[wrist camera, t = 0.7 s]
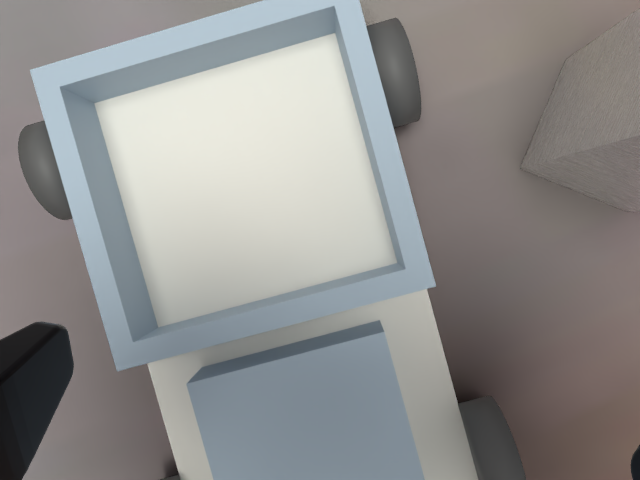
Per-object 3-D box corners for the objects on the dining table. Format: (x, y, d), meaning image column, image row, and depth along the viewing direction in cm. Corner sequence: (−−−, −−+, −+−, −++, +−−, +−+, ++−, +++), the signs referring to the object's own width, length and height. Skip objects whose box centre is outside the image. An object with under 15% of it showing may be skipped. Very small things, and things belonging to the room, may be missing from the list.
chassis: (510, 497, 21) (546, 556, 17) (191, 575, 21) (161, 648, 18) (379, 9, 20) (388, -37, 16) (55, 104, 21) (-5, 80, 17)
